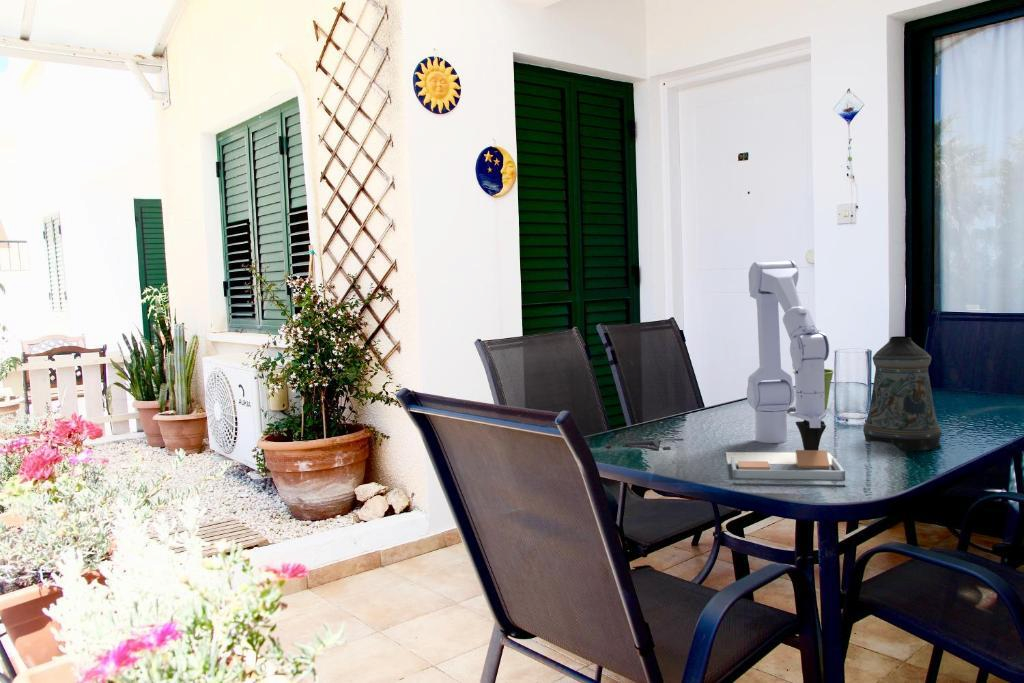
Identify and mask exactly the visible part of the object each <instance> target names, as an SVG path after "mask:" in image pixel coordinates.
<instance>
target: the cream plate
mask: <svg viewBox="0 0 1024 683" xmlns="http://www.w3.org/2000/svg"><path fill="white" fill-rule="evenodd" d="M725 455H726V457H725V458H726V462H727V465H731V457H734V460H735V465H738V461H768V463H769V465H797V464H796V452H768V451H767V452H764V451H763V452H761V451H759V452H758V451H757V452H755V451H754V452H752V451H751V452H750V451H749V452H748V451H746V452H745V451H743V452H742V451H739V452H738V451H735V452H734V451H729V452H728V451H726V452H725ZM827 456H828V461H829V466H830V465H831V466H832V458H834V457H833V456H832V454H831V452H827Z"/></svg>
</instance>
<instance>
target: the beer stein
mask: <svg viewBox="0 0 1024 683" xmlns="http://www.w3.org/2000/svg"><path fill="white" fill-rule="evenodd" d="M872 361H873V365H874V367H875V373H874V378H873V384H872V391H871V392H872V393H871V399H870V405H869V410H868V413H867V417H866V420H865V423H864V425H863V428H862V429H863V434H864V438H865V442H879V443H880V442H881V443H886V444H887V443H888V444H892V445H894V446H895V447H896V448H897V449H898V450H900V451H926V450H927V449H928V450H932V449H936V447H937V448H938V447H939V445H940V440H941V436H942V433H943V432H942V429H941V427H940V425H939V422H938V419H937V416H936V412H935V408H934V401H933V400H934V399H933V394H932V387H931V380H930V376H929V366H930V365H931V361H932V356H931V355H930V354H929V353H928V352H927V351H925V349H923V348H922V347H920V346H919V345H917V344H916V343H915V342H914V341H913V339H912V337H911V336H903V335H899V336H896V335H895V336H890V338H889V340H888V341H887V342H886V343H885V344H884V345H883V346H882V347H881V348H880V349H878V350H877V351H876V352H875V353H874V354H873V356H872ZM931 448H932V449H931Z"/></svg>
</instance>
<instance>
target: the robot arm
mask: <svg viewBox="0 0 1024 683" xmlns="http://www.w3.org/2000/svg"><path fill="white" fill-rule="evenodd" d="M798 282H799V268H798V265H797V263H796V262H795V261H794V260H787V261H769V262H767V261H765V262H757V261H754V262H753V263H752V264H751V265H750V267H749V271H748V292H749V297H750V298H752V299H755V301H756V309H757V310H756V311H757V312H756V313H757V314H756V315H757V336H758V337H757V338H758V339H757V340H758V359H759V360H758V362H759V363H758V364H759V367H758V368H757V369H756V370H755V371H754V372H752V373H751V374H750V375H749V376H748V377H747V378H748V379H747V387H746V399H747V403H748V405H749V406H750V407H751V408H752V409H754V417H755V418H754V420H755V421H754V422H755V425H754V427H755V438H752V441H755V442H756V441H757V442H758V443H766V444H780V443H785V442H788V417H787V416H788V414H787V412H788V411H787V410H790V407H791V406H792V405H793V404H794V402H795V411H790V412H789V416H790V417H792V418H794V417H796V418H798V419H801V420H802V421H801V420H800V421H795V424H796V427H797V428H798V430H799V434H800V437H801V441H802V447H803V450H820V448H819V447H820V443H821V438H822V435H823V434H824V432H825V430H826V428H827V425H826V423H825V421H824V420H823V419H824V418H826V417H827V412H826V408H825V392H824V391H825V383H824V369H825V362H826V361H827V360H828V358H829V355H830V343H829V339H828V337H827V335H826V334H825V333H824V332H822V331H821V330H819V329H817V326H816V324H815V321H814V320H813V317H812V315H811V313H810V311H809V309H807V308H806V307H803V306H802V304H801V300H800V298H799V294H798V291H797V285H798ZM779 305H780V307H781V308H782V310H783V312H784V315H783V317H782V323H783V324H784V327H785V329H786V332H787V335H788V338H789V340H790V343H789V344H790V345H789V354H790V358H791V364H792V369H793V371H794V370H795V374H794V383H795V384H793V379H792V375H791V374H790V373H789V372H787V371H786V370H785V369H783V368H782V363H781V362H782V361H781V359H782V358H781V338H780V314H779V313H780V312H779V311H780V310H779ZM794 385H795V387H794Z"/></svg>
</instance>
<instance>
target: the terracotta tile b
mask: <svg viewBox="0 0 1024 683" xmlns="http://www.w3.org/2000/svg"><path fill="white" fill-rule="evenodd" d="M827 451H828V450H824V449H823V450H820V449H818V450H804V449H796V450H795V453H796V464H795V465H796V467H797V469H816V470H817V469H818V470H819V469H822V470H823V469H825V470H826V469H827V470H828V469H829V470H830V465H829V461H828V456H827V453H828V452H827Z"/></svg>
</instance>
